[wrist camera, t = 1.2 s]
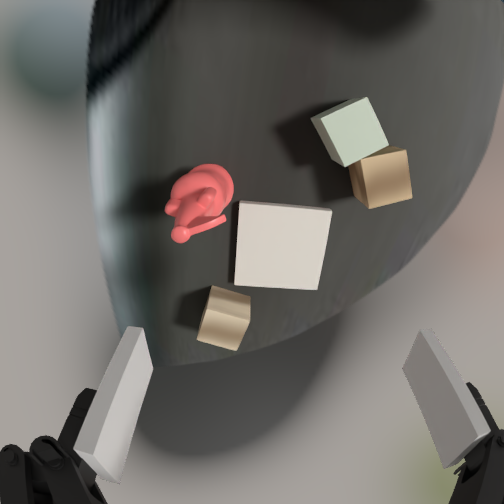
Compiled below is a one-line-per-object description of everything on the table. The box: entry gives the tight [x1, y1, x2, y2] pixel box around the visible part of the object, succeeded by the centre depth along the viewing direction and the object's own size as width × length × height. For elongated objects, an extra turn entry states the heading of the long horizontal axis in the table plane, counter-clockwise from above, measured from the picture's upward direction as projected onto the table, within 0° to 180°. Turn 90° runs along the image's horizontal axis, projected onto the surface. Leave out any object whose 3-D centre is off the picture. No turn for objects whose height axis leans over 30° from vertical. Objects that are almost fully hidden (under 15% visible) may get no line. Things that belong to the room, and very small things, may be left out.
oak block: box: [348, 145, 412, 209], centre depth 28 cm, size 5×5×5 cm
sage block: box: [310, 97, 389, 167], centre depth 27 cm, size 5×5×5 cm
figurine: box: [165, 164, 234, 243], centre depth 25 cm, size 5×5×15 cm
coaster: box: [234, 201, 332, 290], centre depth 34 cm, size 10×10×1 cm
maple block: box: [197, 285, 250, 351], centre depth 36 cm, size 5×5×5 cm
